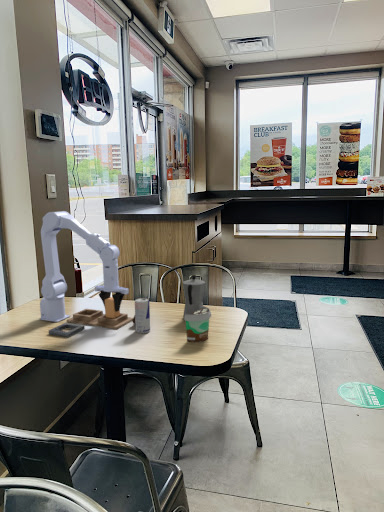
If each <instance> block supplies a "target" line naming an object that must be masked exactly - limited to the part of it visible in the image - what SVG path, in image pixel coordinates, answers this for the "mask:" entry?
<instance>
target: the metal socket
mask: <svg viewBox="0 0 384 512" xmlns="http://www.w3.org/2000/svg"><path fill="white" fill-rule="evenodd" d="M85 328H86V327H85V325H84V324H77V323H70V322H64V323H62V324H60V325H58V326H56V327H53V328H51V329H48V335H50V336H56V337H57V336H58V337H61V338H62V337H63V338H68V339H69V338H71V337H72V336H75V335H76V334H78V333H81V332H83V331H84V330H85ZM65 329H69V330H68V331H65Z"/></svg>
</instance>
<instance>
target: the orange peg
mask: <svg viewBox="0 0 384 512" xmlns="http://www.w3.org/2000/svg"><path fill="white" fill-rule="evenodd" d="M104 310H105V311H104V312H105V313H104V314H105V316H106V317H108V318H116V317H118V316H119V315H120V313H121V311H120V310H121V309H120V310H119V311H117V312H116V311H115V305H114V299H113V297H111V296H110V298H108V299H105V307H104Z"/></svg>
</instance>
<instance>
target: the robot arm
mask: <svg viewBox="0 0 384 512" xmlns="http://www.w3.org/2000/svg"><path fill="white" fill-rule="evenodd" d="M63 229H69V230H71V231H72V232H74V233H75V234H76V235H78V236H79V237H81V238H82V239H83V240H85V243H86V246H88V248H90V249H91V250H92V251H94V252H95V253H97V254H98V256H99V259H100V260H101V261H102V271H103V272H102V273H103V278H102V279H103V285H95V286H94V292H99V293H98V296H99V298H100V300H101V301H102V304H103V306H104V308H105V299H108V298H110V297H111V295H112V298H113V299H114V305H115V311H116V312H117V311H119V310H121V304H122V301H123V299H124V297H125V295H128V294H130V293H129V291H130V290H129V288H127V287H123V286H120V283H119V280H120V279H119V263H118V262H119V261H118V260H119V259H118V258H119V257H120V255H121V252H120V249H119V247H118V246H117V245H116V244H111V243H110V242H109V241H107V240H105V239H104V238H103V237H102V234H100V233H96V232H94V233H92V232H90V231H89V230H88V229H87V228H86V227H85V226H83V225H82V224H81V223H80V222H79V221H78V220H77V219H76V218H75V217H74V215H72V214H70V212H68V211H66V210H62V211H61V210H60V211H49V212H47V213H45V215H44V216H43V217H42V226H41V229H40V238H41V246H42V248H41V249H42V254H43V255H42V256H43V261H44V269H45V270H44V272H45V276H44V278H43V279H42V280H41V282H42V286H41V288H40V289H41V290H40V292H41V295H42V298H41V300H40V301H39V308H40V309H39V311H40V317H39V320H42V321H49V322H55V323H58V322H60V321H63V320H65V319H67V318H68V319H69V318H71V315H69V314H66V304H65V302H66V301H65V294H66V292H67V291H68V285H67V283H66V282H67V281H66V280H65V277H64V275H63V274H62V273H61V270H60V261H59V260H60V259H59V253H58V252H59V251H58V244H57V235H58V233H59V232H60V231H61V230H63ZM112 293H113V294H112Z"/></svg>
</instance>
